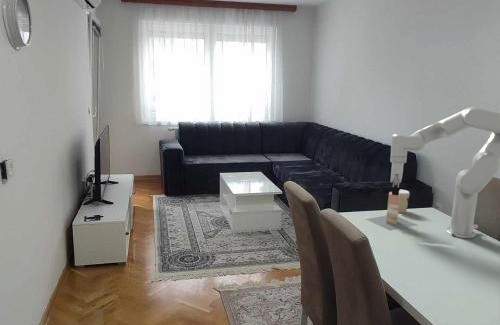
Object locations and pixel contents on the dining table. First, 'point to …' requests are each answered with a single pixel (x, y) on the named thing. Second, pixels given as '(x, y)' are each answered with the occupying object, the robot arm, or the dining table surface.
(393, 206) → the birch block
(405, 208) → the coffee cup
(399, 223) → the baseplate
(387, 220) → the oak base brick
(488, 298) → the dining table surface
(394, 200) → the terracotta block
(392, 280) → the dining table surface
